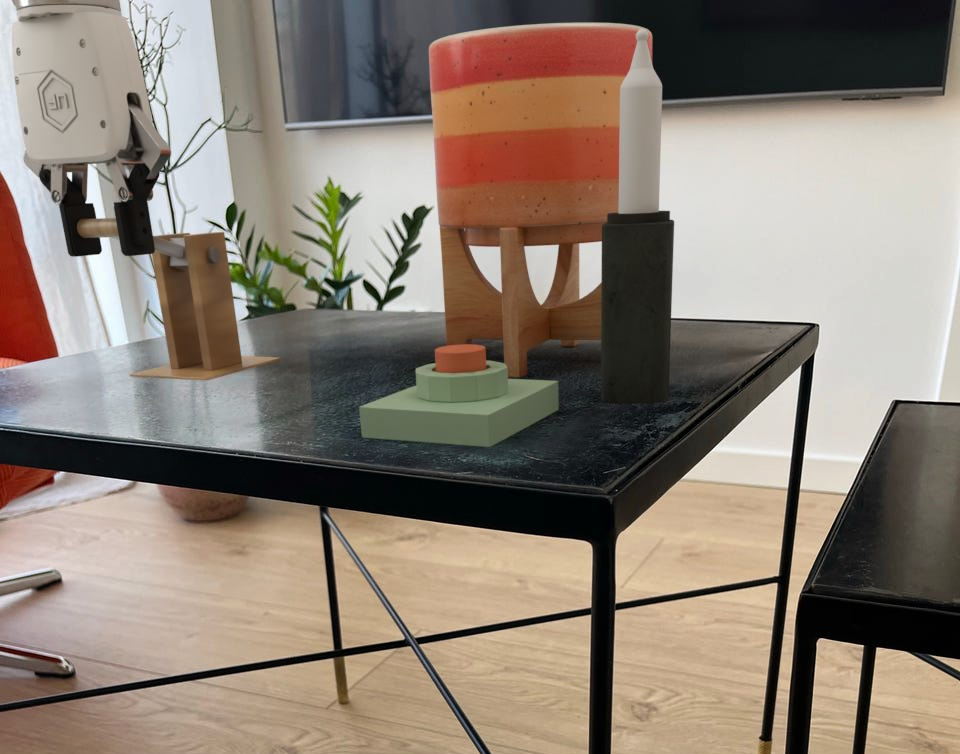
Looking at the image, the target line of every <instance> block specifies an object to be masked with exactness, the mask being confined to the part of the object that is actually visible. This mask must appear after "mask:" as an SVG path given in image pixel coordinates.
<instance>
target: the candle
mask: <svg viewBox="0 0 960 754" xmlns="http://www.w3.org/2000/svg"><path fill="white" fill-rule="evenodd" d="M647 38H648V33H647V31H646V30H645V29H640V30H639V31H638V32H637V34H636V39H637V45H636V48H635V52H634V56H633V59H632V63H631V67H630V70H629V72H628V74H627V76H626V77H625V79H624V81H623V83H622V85H621V87H620V131H619V212H618V213H608V214H607V223H605V224H603V225H602V241H601V282H602V286H601V340H600V401H601V402H602V403H606V404H660V403H665V402H667V401H668V394H669V393H670V390H669V389H670V365H671V364H670V363H671V335H672V334H671V333H672V332H671V330H672V301H673V274H674V273H673V271H674V270H673V269H674V267H673V266H674V246H675V245H674V243H675V242H674V241H675V240H674V239H675V220H674V219H671V210H660V187H661V185H660V183H661V147H662V114H663V113H662V110H663V109H662V108H663V84H662V81H661V79H660V77H659V76H658V74H657V72H656V70H655V69H654V66H653V60H652V61H651V57H650V53H649V49H648V45H647Z"/></svg>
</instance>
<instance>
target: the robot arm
mask: <svg viewBox="0 0 960 754" xmlns="http://www.w3.org/2000/svg"><path fill="white" fill-rule="evenodd" d="M11 2H12V4H13V5H14V7H15V10H16V16H17V21H13V22H12V23H11V24H12V28H11V50H12V51H11V53H12V54H11V55H12V68H13V79H14V87H15V95H16V102H17V109H18V116H19V123H20V128H21V134H22V140H23V145H24V149H25V150H24V154H23V159H22V160H23V162H24V164H25V166H27V168H28V169H29V170H30V171H31V172H32V173H33V174H34V175H35V176H36V177H38V178H39V181H40V182H41V184H42V185H43V186H44V187H45V188H46V189H47V191H48V192H49V194H50V199H51V201H52V203H53V204H54V205H57V206H58V208H59V213H60V218H61V223H62V229H63V235H64V240H65V242H66V243H65V244H66V249H67V254H68V255H69V257H71V258H73V257H74V258H75V257H76V258H77V257H87V256H95V255H100V254H101V253H102V252H103V248H102V241H101V237H100V238H84V237H82V236H80V234H79V233H78V231H77V223H78V221H79V220H81V219H97V213H96V208H95V206H94V202H87V200H88V175H89V165H98V164H105V166H106V169H107V171H108V174H109V177H110V179H111V182H112V184H113V188H114V190H115V192H116V195H117V197H118V199H119V200H120V201H114V202H113V205H114V206H113V211H114V218H116V223H117V229H118V235H119V240H118V241H119V246H120V251H121V252H120V253H122V255H123V256H124V257H135V256H144V255H152V254H153V253H154V252H155V246H154V240H153V236H154V233H153V228H152V220H151V217H150V215H151V214H150V209H149V202H150V201H152V200H153V198H154V190H153V189H154V187H155V186H156V184H157V182H158V179H159V178H160V174H161V171H162V170H163V168H164V167H165V165H166V164H167V162H168V161H169V159H170V157H171V155H172V150H171V147H170V145H168V143H167V142H166V141H165V139H164V138H163V137H162V135H161V134H160V133H159V131H158V130H157V128H155V126H154V124H153V118H152V117H153V116H152V113H151V107H150V101H149V95H148V92H147V87H146V82H145V76H144V72H143V69H142V65H141V61H140V57H139V54H138V50H137V46H136V43H135V41H134V38H133V34H132V31H131V27H130V25H129V22H128V19H127V17H125V16H123V14H122V9H121V8H122V7H121V2H120V0H11ZM126 170H128V172H129V174H128V175H127V172H126ZM68 173H71V179H70V178H69V177H68ZM86 202H87V203H86Z"/></svg>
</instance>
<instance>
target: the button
mask: <svg viewBox="0 0 960 754" xmlns="http://www.w3.org/2000/svg"><path fill="white" fill-rule="evenodd" d="M434 359H435V361H434V363H436V372H439V373H470V372H477V371H483V370H486V361H487V350H486V346H484V345H481V344H473V343H472V344H462V345H449V346H447V345H444V346H439V347H437V348H435V349H434Z"/></svg>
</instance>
